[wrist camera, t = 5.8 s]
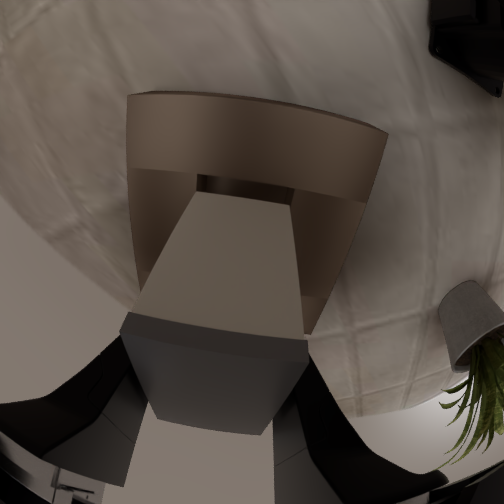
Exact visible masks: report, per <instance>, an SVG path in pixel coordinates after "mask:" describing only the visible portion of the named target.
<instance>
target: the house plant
mask: <svg viewBox="0 0 504 504" xmlns="http://www.w3.org/2000/svg"><path fill="white" fill-rule="evenodd" d="M439 316H440V320H441V324H442V328H443V332H444V336H445V340H446V344H447V349H448V353H449V358H450V363H451V368H452V371H453V372H455V373H463V372H466V371H469V370H470V371H469V378H468V379H467V380H466V381H465V382H463V383H461V384H460V385H458V386H456V387H454V388H452V389H448V390H443V391H445V392H447V393H449V394H451V393H455V392H458V391H459V390H461V389H462V388H464V387H465V386H466V385H467V389H466V391H465V393H464V394H465V396H464V394H463V396H464V399H463V402H462V404H461V406H459V405H458V406H459V408H460V409H459V411H458V413H457V415H456V417H455V419H454V420H453V421H452V422H451V423H453V422H454V421H455V420H457V419H458V417H459V416H460V415H461V414H462V412H463V410H464V409H465V408H466V407H467V406H466V404H467V402H468V399H469V396H470V391H471V386H472V381H473V376H474V383H473V391H472V398H471V403H470V404H469V405H468V406H470V410H469V414H468V418H467V422H466V425H465V428H464V430H463V433H462V435H461V437H460V438H459V440H458V442H457V443H456V445H455V446H454V448H453V449H451V450H450V451H452V450H454V449H455V448H456V447H458V445H459V444H460V443H461V442H462V441H463V439H464V437H465V435H466V433H467V431H468V429H469V426H470V423H471V419H472V414H473V409H474V404H475V403H477V401H478V404H479V400H480V397H481V394H482V398H481V407H480V415H479V420H478V423H477V427H476V430H475V433H474V436H473V438H472V440H471V442H470V444H469V446H468V447H467V449H466V451H465V452H464V454H463V455H462V456H461V457H460V458H459V459H458V460H457V461H459V460H461V459H462V458H464V457H465V456H466V455H467V454H468V453H469V452H470V451H471V450H472V449H473V447H474V446H475V444H476V442H477V440H478V439H479V438H480V437H481V435H482V434H483V437H482V440H481V442H480V443H479V445H478V447H479V446H480V444H481V443H482V442H483V441H484V440H485V438H486V435H487V432H488V430H489V438H488V444H487V447H486V449H487V448H488V447H489V445H490V444H491V442H492V440H493V436H494V431H495V432H497V433H498V434H499V435H502V434H503V432H504V424H503V412H502V409H503V411H504V312H503V311H502V310H501V309H500V307H499V306H498V305H497V304H496V303H495V302H494V301H493V300H492V299H491V297H490V296H489V295H488V294H487V293H486V292H485V291H484V290H483V289H482V288H481V287H480V286H479V285H478V284H477V283H476V282H474V281H467V282H463V283H461V284H460V285H458V286H457V287H456V288H454V289H453V290H452V291H450V292H449V293H448V294H447V295H446V296H445V298H444V299H443V300H442V302H441V304H440V307H439ZM441 390H442V389H441ZM463 396H462V397H463ZM462 397H461V398H462ZM461 398H460V399H461ZM460 399H459V400H460ZM459 400H457V401H455V402H452V403H449V404H441V403H440V402H439V404H440V405H441V406H442V408H443V409H448V408H451V407H453V406H454V405H455V404H456V403H457V402H458V401H459ZM478 404H477V408H478ZM477 408H476V411H475V414H476V412H477ZM474 418H475V415H474ZM474 418H473V421H472V424H471V427H472V425H473V422H474ZM451 423H450V424H451ZM450 424H449V425H450ZM471 427H470V430H471ZM470 430H469V433H470ZM469 433H468V435H469ZM467 437H468V436H467ZM465 441H466V440H465ZM465 441H464V443H465ZM462 446H463V445H462ZM462 446H461V448H462ZM478 447H477V449H478ZM461 448H460V449H461ZM460 449H459V450H460ZM486 449H485V451H486ZM450 451H448V452H450ZM448 452H447V453H448ZM458 452H459V451H458ZM458 452H457V453H458ZM457 453H456V454H457ZM456 454H455V455H456ZM455 455H454V456H453V457H452V458H451V459H453V458H454V457H455ZM451 459H450V460H451ZM450 460H449V461H450ZM449 461H448V462H449ZM457 461H455V462H454V463H456V462H457ZM448 462H446V463H445V464H447V463H448ZM454 463H452V464H454ZM445 464H443V465H442V466H444V465H445ZM442 466H440V467H438V468H437V469H439V468H441V467H442ZM437 469H435V470H437ZM433 471H434V470H433Z"/></svg>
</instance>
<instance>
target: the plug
mask: <svg viewBox="0 0 504 504" xmlns="http://www.w3.org/2000/svg"><path fill="white" fill-rule="evenodd" d="M119 332H120V335H121V338H122V340H123V343H124V346H125V348H126V351H127V353H128V356H129V358H130V361H131V363H132V366H133V368H134V370H135V373H136V375H137V377H138V380H139V382H140V384H141V386H142V388H143V391H144V393H145V395H146V397H147V399H148V401H149V403H150V405H151V407H152V409H153V411H154V413H155V415H156V417H157V419H160V420H164V421H168V422H172V423H177V424H182V425H187V426H192V427H197V428H203V429H210V430H216V431H223V432H231V433H241V434H250V435H261V434H262V433H263V431H264V430H265V428H266V427H267V426H268V424H269V423H270V422H271V420H272V419H273V417H274V416H275V414H276V413H277V412H278V410H279V409H280V407H281V406H282V404H283V403H284V401H285V400H286V398H287V397H288V395H289V394H290V392H291V391H292V389H293V388H294V386H295V385H296V383H297V382H298V380H299V378H300V377H301V375H302V374H303V372H304V370H305V369H306V367H307V365H308V364H309V352H308V341H307V340H305V339H304V327H303V316H302V306H301V296H300V287H299V277H298V269H297V260H296V252H295V244H294V236H293V228H292V221H291V213H290V206H289V205H285V204H279V203H273V202H267V201H261V200H254V199H248V198H241V197H234V196H227V195H220V194H213V193H205V192H197V191H196V192H195V194H194V196H193V197H192V199H191V201H190V202H189V204H188V206H187V207H186V209H185V211H184V213H183V214H182V216H181V218H180V220H179V221H178V223H177V225H176V227H175V228H174V230H173V232H172V234H171V235H170V237H169V239H168V241H167V243H166V245H165V246H164V248H163V250H162V252H161V254H160V256H159V258H158V260H157V261H156V263H155V265H154V267H153V269H152V271H151V273H150V275H149V277H148V279H147V281H146V283H145V285H144V287H143V289H142V291H141V293H140V295H139V297H138V299H137V301H136V303H135V306H134V308H133V310H132V312H128V314H127V316H126V318H125V320H124V322H123V325H122V327H121V329H120V331H119Z"/></svg>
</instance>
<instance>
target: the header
mask: <svg viewBox="0 0 504 504" xmlns="http://www.w3.org/2000/svg"><path fill="white" fill-rule="evenodd" d="M387 138H388V133H386V132H384V131H382V130H380V129H378V128H376V127H374V126H372V125H370V124H368V123H365V122H362V121H359V120H356V119H352V118H349V117H345V116H342V115H338V114H334V113H331V112H327V111H323V110H318V109H314V108H310V107H305V106H301V105H296V104H291V103H285V102H280V101H274V100H268V99H262V98H255V97H247V96H239V95H230V94H220V93H207V92H189V91H149V92H143V93H137V94H131V95H128V96H127V122H126V154H127V181H128V197H129V209H130V220H131V230H132V238H133V246H134V254H135V261H136V267H137V274H138V280H139V286H140V291H142V289H143V287H144V285H145V283H146V281H147V279H148V277H149V275H150V273H151V271H152V269H153V267H154V265H155V263H156V261H157V260H158V258H159V256H160V254H161V252H162V250H163V248H164V246H165V245H166V243H167V241H168V239H169V237H170V235H171V234H172V232H173V230H174V228H175V227H176V225H177V223H178V221H179V220H180V218H181V216H182V214H183V213H184V211H185V209H186V207H187V206H188V204H189V202H190V201H191V199H192V197H193V196H194V194H195V192H196V191H197V192H205V193H213V194H220V195H227V196H234V197H241V198H248V199H254V200H261V201H267V202H273V203H279V204H285V205H289V206H290V213H291V221H292V228H293V236H294V244H295V252H296V260H297V269H298V277H299V287H300V296H301V306H302V316H303V327H304V334H311V333H312V331H313V329H314V327H315V325H316V323H317V321H318V319H319V317H320V315H321V313H322V311H323V308H324V306H325V304H326V302H327V300H328V298H329V296H330V293H331V291H332V289H333V287H334V284H335V282H336V280H337V278H338V275H339V273H340V271H341V268H342V266H343V264H344V261H345V259H346V256H347V254H348V252H349V249H350V247H351V244H352V242H353V239H354V236H355V234H356V231H357V229H358V226H359V223H360V221H361V218H362V215H363V213H364V210H365V207H366V204H367V201H368V199H369V196H370V193H371V190H372V187H373V184H374V181H375V178H376V175H377V171H378V168H379V165H380V162H381V159H382V155H383V152H384V149H385V145H386V142H387Z"/></svg>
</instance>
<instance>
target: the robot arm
mask: <svg viewBox="0 0 504 504" xmlns="http://www.w3.org/2000/svg"><path fill="white" fill-rule="evenodd" d="M431 23H432V28H431V37H430V44H429V49H430V52H431V54H432V55H433V56H435V57H436V58H438V59H440V60H441V61H443V62H445V63H446V64H448V65H450V66H451V67H453V68H454V69H456V70H458V71H459V72H461V73H462V74H464V75H465V76H467V77H468V78H470V79H471V80H472V81H474V82H475V83H477V84H478V85H479V86H481V87H482V88H483V89H485V90H486V91H487V92H489V93H490V94H491V95H492V96H494V97H498V98H499V97H501V94H502V88H503V81H504V0H432V8H431ZM436 47H437V48H438V49H439V53H438V52H437V50H436ZM495 88H496V91H495ZM147 404H148V399H147V397H146V395H145V393H144V391H143V388H142V386H141V384H140V382H139V380H138V377H137V375H136V373H135V370H134V368H133V366H132V363H131V361H130V358H129V356H128V353H127V351H126V348H125V346H124V343H123V340H122V338H121V335H119V336H118V337H117V338H116V339H115V340H114V341H113V342H112V343H111V344H110V345H108V347H106V348H105V349H104V350H103V351H102V352H101V353H100V355H98V356H97V357H96V358H95V359H93V360H92V361H91V362H90V363H89V364H88V365H87V366H86V367H85V368H83V369H82V370H81V371H80V372H78V373H77V374H76V375H74V376H73V377H72V378H71V379H69V380H68V381H66V382H65V383H64V384H62V385H61V386H60V387H59V388H57V389H56V390H55V391H53V392H52V393H50V394H48V395H46V396H44V397H41V398H36V399H31V400H25V401H18V402H11V403H3V404H0V504H101V502H102V498H103V492H104V488H105V483H108V484H112V485H117V486H120V487H124V484H125V480H126V476H127V472H128V469H129V465H130V461H131V458H132V454H133V450H134V447H135V443H136V440H137V436H138V433H139V429H140V426H141V423H142V420H143V416H144V413H145V410H146V407H147ZM273 446H274V447H273V448H274V449H273V450H274V490H275V504H504V460H502V461H500V462H498V463H497V464H495V465H493V466H491V467H489V468H486V469H484V470H482V471H480V472H478V473H476V474H473V475H471V476H469V477H466V478H464V479H461V480H459V481H456V482H453V483H451V484H448V485H446V484H447V483H449V480H448V478H447V477H446V476H445V475H444V474H443V473H442V472H440V471H439V470H434V471H431V472H428V473H425V474H415V473H412V472H409V471H407V470H405V469H403V468H401V467H399V466H397V465H396V464H394V463H392V462H390V461H388V460H386V459H384V458H383V457H381V456H379V455H377V454H376V453H374V452H373V451H372V450H371V449H369V448H368V446H366V444H365V443H364V442H363V440H362V439H361V438H360V437H359V435H358V433H357V432H356V431H355V429H354V428H353V427H352V425H351V424H350V423H349V421H348V420H347V418H346V417H345V415H344V414H343V413H342V411H341V409H340V408H339V406H338V404H337V403H336V401H335V399H334V398H333V396H332V394H331V392H329V389H328V387H327V385H326V383H325V381H324V379H323V378H322V376H321V374H320V372H319V370H318V369H317V367H316V365H315V363H314V361H313V360H312V358H311V356H310V354H309V364H308V365H307V367H306V369H305V370H304V372H303V374H302V375H301V377H300V378H299V380H298V382H297V383H296V385H295V386H294V388H293V389H292V391H291V392H290V394H289V395H288V397H287V398H286V400H285V401H284V403H283V404H282V406H281V407H280V409H279V410H278V412H277V413H276V414H275V416H274V417H273ZM444 485H445V486H444ZM441 486H442V487H441Z"/></svg>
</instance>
